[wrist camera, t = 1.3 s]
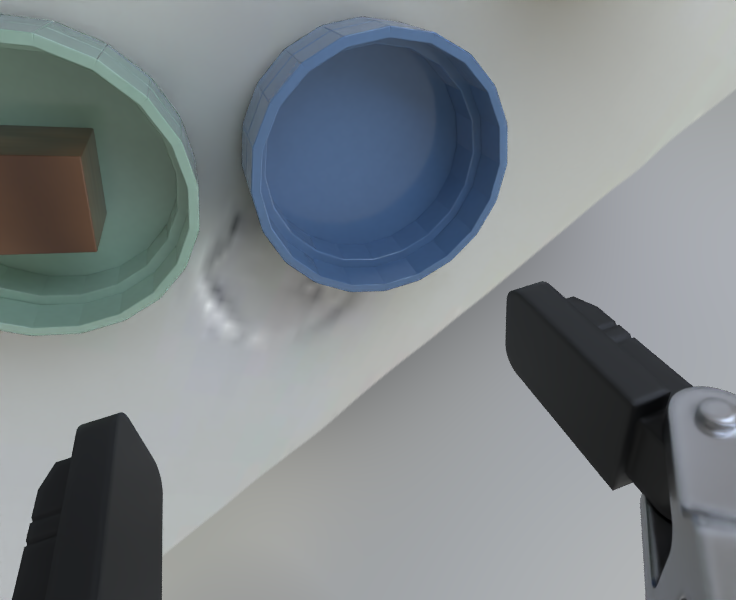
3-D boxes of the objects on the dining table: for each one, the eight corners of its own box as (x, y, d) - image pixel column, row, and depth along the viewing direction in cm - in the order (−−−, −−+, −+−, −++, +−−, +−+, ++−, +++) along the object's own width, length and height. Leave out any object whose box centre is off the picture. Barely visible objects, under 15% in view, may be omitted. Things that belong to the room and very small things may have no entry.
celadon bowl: (-134, 246, 26) (-188, 299, 22) (-111, -52, 21) (-177, -53, 17) (156, 308, 33) (154, 357, 29) (230, 93, 28) (239, 117, 24)
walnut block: (8, 215, 27) (-18, 256, 23) (-15, 123, 25) (-48, 154, 21) (107, 214, 28) (97, 252, 25) (93, 127, 26) (80, 156, 22)
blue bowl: (207, 215, 31) (212, 254, 27) (297, -38, 25) (321, -36, 21) (402, 275, 37) (430, 314, 33) (507, 84, 32) (554, 103, 28)
